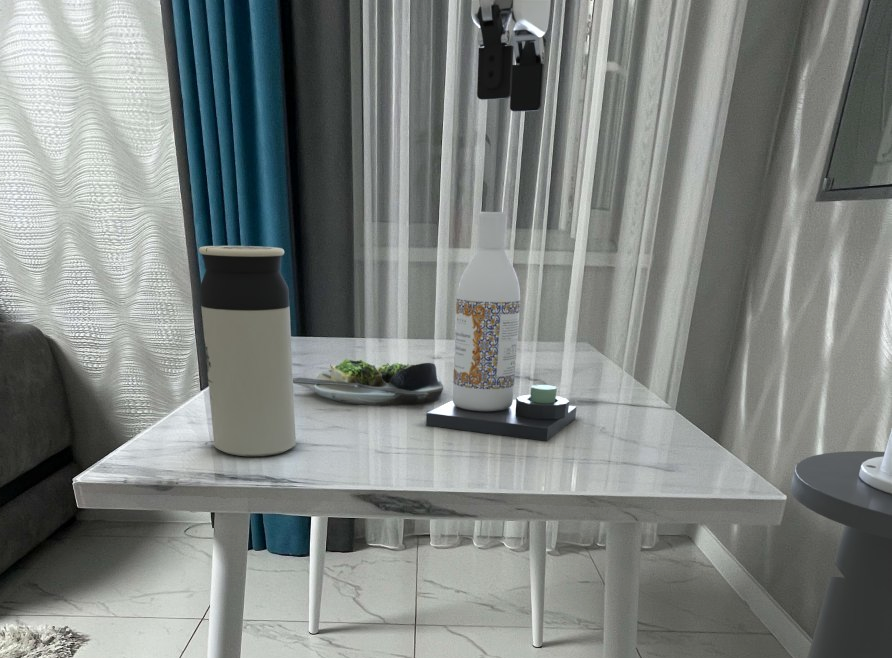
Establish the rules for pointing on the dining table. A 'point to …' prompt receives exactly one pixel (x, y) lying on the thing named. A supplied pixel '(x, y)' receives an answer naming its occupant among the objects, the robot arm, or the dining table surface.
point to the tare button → (543, 393)
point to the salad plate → (377, 383)
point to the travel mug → (248, 349)
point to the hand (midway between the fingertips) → (510, 105)
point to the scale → (508, 418)
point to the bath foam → (487, 323)
